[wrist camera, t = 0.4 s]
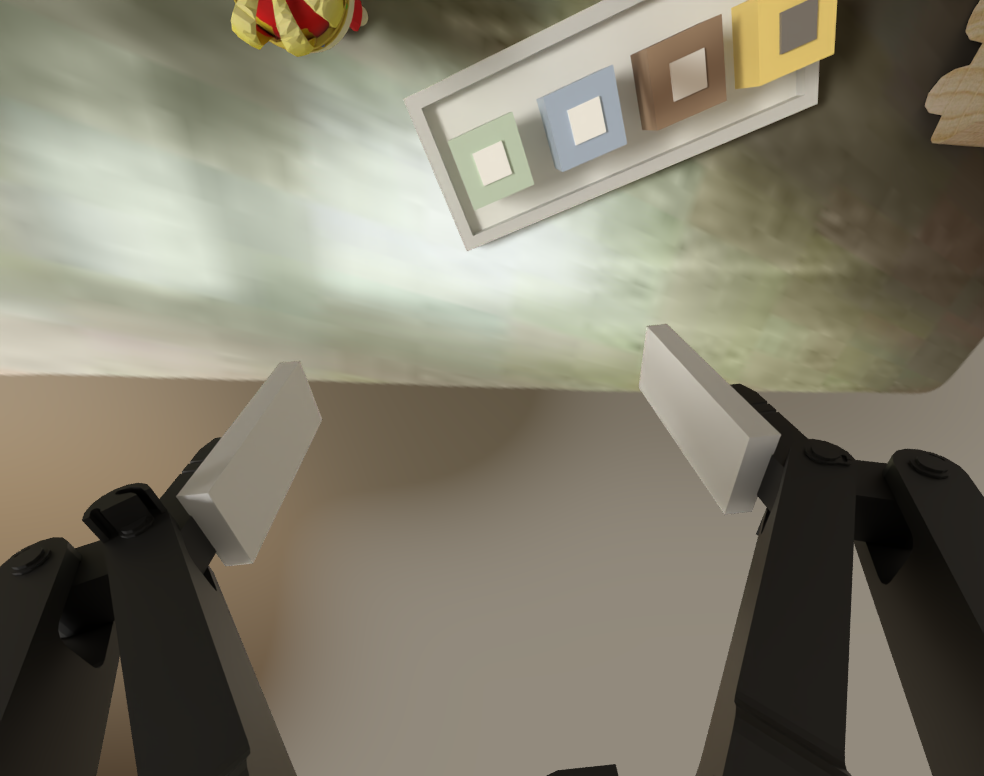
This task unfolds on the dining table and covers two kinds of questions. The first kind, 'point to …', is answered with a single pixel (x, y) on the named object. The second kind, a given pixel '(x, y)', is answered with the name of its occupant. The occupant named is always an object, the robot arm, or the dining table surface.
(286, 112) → the dining table surface
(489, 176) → the key
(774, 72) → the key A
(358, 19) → the toy
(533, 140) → the base
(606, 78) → the blue square block
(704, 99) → the key
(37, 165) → the dining table surface
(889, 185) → the dining table surface
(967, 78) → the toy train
